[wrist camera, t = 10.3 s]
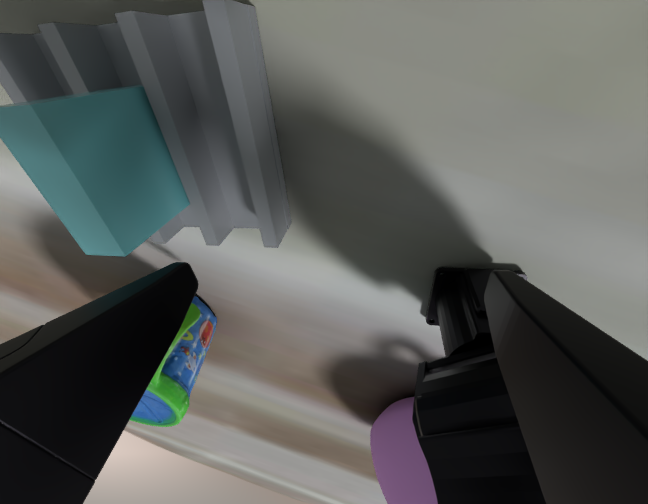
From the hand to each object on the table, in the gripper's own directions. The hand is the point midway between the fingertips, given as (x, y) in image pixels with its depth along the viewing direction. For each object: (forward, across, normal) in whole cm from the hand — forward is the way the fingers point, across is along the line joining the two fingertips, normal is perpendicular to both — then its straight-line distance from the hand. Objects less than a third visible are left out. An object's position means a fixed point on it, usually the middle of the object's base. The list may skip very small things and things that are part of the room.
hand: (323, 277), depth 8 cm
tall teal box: (+11, +12, -2) cm, 17 cm away
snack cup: (+13, +20, +16) cm, 29 cm away
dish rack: (+12, +13, -2) cm, 18 cm away
